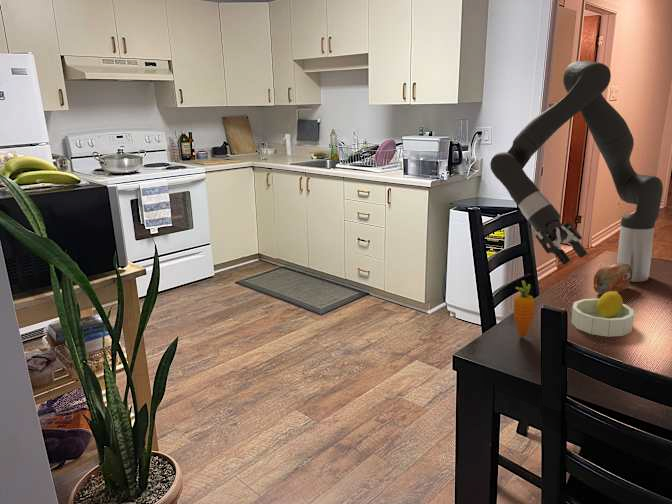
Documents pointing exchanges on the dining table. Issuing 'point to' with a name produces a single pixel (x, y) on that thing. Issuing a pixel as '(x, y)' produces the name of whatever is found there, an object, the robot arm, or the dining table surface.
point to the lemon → (609, 304)
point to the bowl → (601, 319)
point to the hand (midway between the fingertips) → (576, 259)
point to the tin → (612, 278)
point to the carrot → (523, 310)
